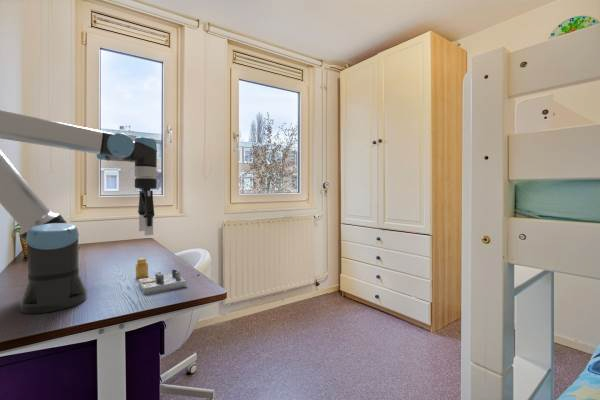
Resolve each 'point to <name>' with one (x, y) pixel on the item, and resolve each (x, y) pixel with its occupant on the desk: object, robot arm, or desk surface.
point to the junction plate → (162, 282)
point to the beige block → (141, 268)
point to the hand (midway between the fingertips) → (145, 233)
